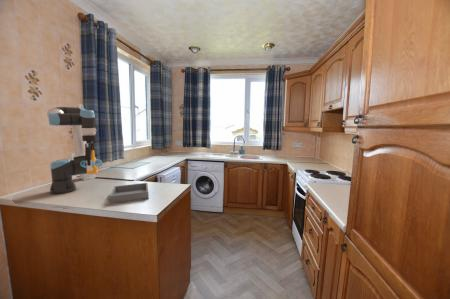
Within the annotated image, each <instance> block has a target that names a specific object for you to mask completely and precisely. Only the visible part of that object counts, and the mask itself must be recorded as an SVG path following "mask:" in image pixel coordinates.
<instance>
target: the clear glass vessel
mask: <svg viewBox="0 0 450 299" xmlns="http://www.w3.org/2000/svg"><path fill="white" fill-rule="evenodd" d="M79 179H80V180H82V181H87V180H93V179H96V174H80V175H79Z"/></svg>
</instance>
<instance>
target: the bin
mask: <svg viewBox="0 0 450 299" xmlns="http://www.w3.org/2000/svg"><path fill="white" fill-rule="evenodd" d="M110 192H111V193H110V195H109V202H110V205H112V204H120V203H128V202H135V201H143V200H149V195H150V194H149V184H148V182H144V183H132V184H124V185H115V186H113V188H112V191H110Z"/></svg>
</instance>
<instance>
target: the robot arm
mask: <svg viewBox="0 0 450 299" xmlns="http://www.w3.org/2000/svg"><path fill="white" fill-rule="evenodd" d="M46 113H47V114H46V115H47V117H48V118H47V119H48V123H49V126H54V127H55V126H56V127H58V126H70V127H71V133H72V142H73V146H74V154H75V156H74V157H73V158H72V159H71V158H69V157H68V158H62V159H61V158H59V159H56V160H53V161H51V163H50V175H51V185H50V187H49V193H50V194H51V195H61V194H66V193H67V194H68V193H71V192H75V191H76V190H77V186H76V183H75V182H74V180H73V176H78V175H79V176H80V174H87V171H92V170H93V169H92V160H91V154H92V150H94V154H95V159H97V157H98V155H97V152H96V145H95V142H97V135H96V134H97V131H98V130H97V129H96V115H95V111H94V110H92V109H91V110H89V109H85V108H84V107H78V106H76V107H73V106H55V107H52V108H50V109H48V110H47V112H46ZM82 161H86V162H87V163H85V166H86V165H87V170H86V168H84V167H82V166H81V165H80V163H81V162H82ZM83 163H84V162H82V165H83Z"/></svg>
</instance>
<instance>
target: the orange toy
mask: <svg viewBox="0 0 450 299" xmlns="http://www.w3.org/2000/svg"><path fill="white" fill-rule="evenodd" d="M91 160H92V169H93V170H92V171H87V174H95V175H96V174H98V172H99V171H98V170H99V169H98V167H101V166H102V165H103V161H102V160H101V159H98V158H96V159H95V154H94V150H92V154H91ZM82 162H84V163H83V165H82ZM82 162H81V163H80V165H81V166H82V167H84V168H86V170H87V165H86V166H85V163H87V162H86V161H82Z"/></svg>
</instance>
